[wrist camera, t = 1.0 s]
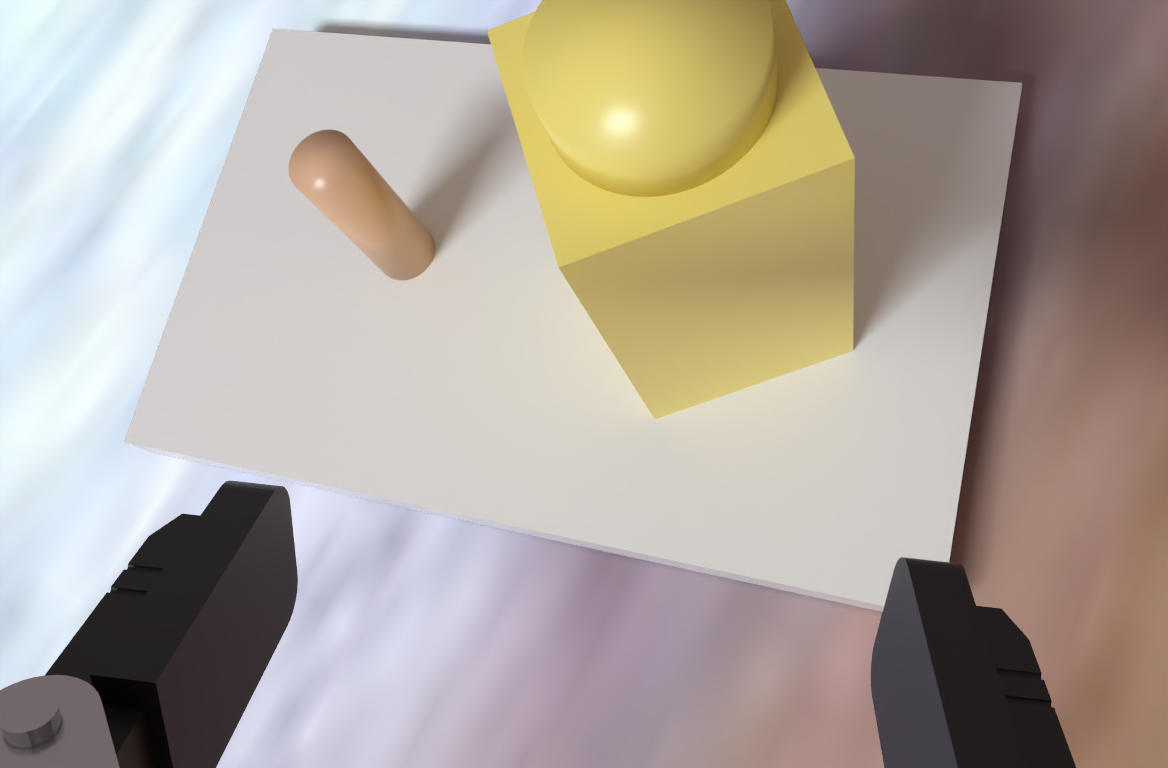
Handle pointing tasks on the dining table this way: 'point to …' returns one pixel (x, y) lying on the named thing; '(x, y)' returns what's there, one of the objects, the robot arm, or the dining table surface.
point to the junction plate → (569, 329)
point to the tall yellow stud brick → (688, 186)
